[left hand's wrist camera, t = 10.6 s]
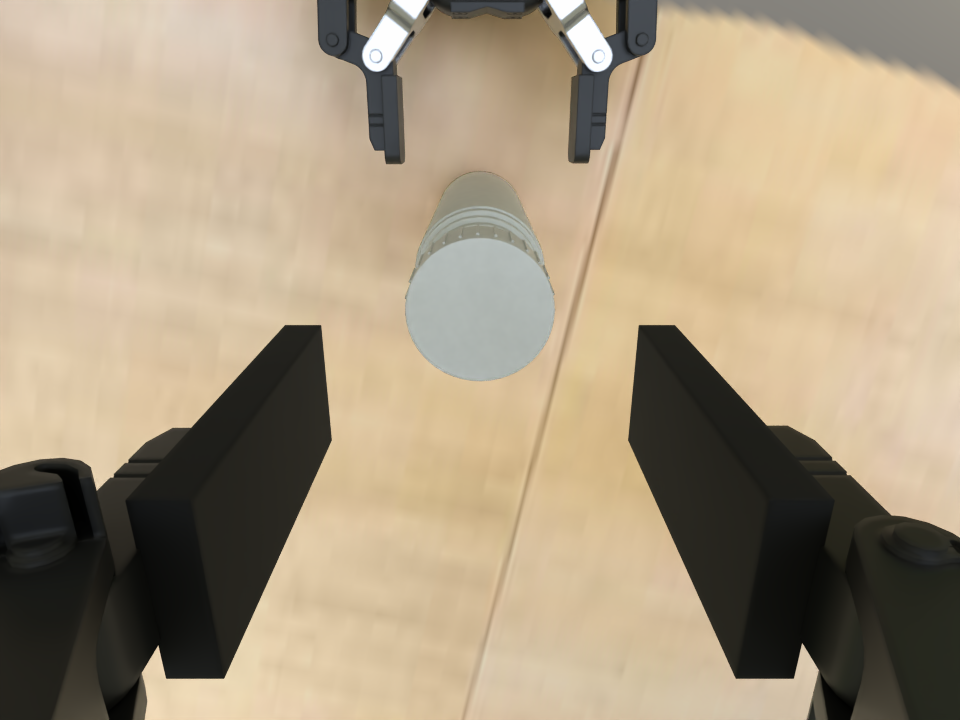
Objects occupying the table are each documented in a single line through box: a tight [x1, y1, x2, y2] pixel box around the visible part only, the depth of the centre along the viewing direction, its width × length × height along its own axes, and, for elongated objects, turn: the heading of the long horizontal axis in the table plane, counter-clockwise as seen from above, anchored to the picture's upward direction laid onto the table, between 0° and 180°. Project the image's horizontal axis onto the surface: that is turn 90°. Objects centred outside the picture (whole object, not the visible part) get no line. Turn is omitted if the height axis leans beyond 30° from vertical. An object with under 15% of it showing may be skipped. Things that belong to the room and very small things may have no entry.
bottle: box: [416, 171, 544, 268], centre depth 28 cm, size 5×5×19 cm
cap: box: [405, 224, 555, 381], centre depth 20 cm, size 4×4×2 cm
